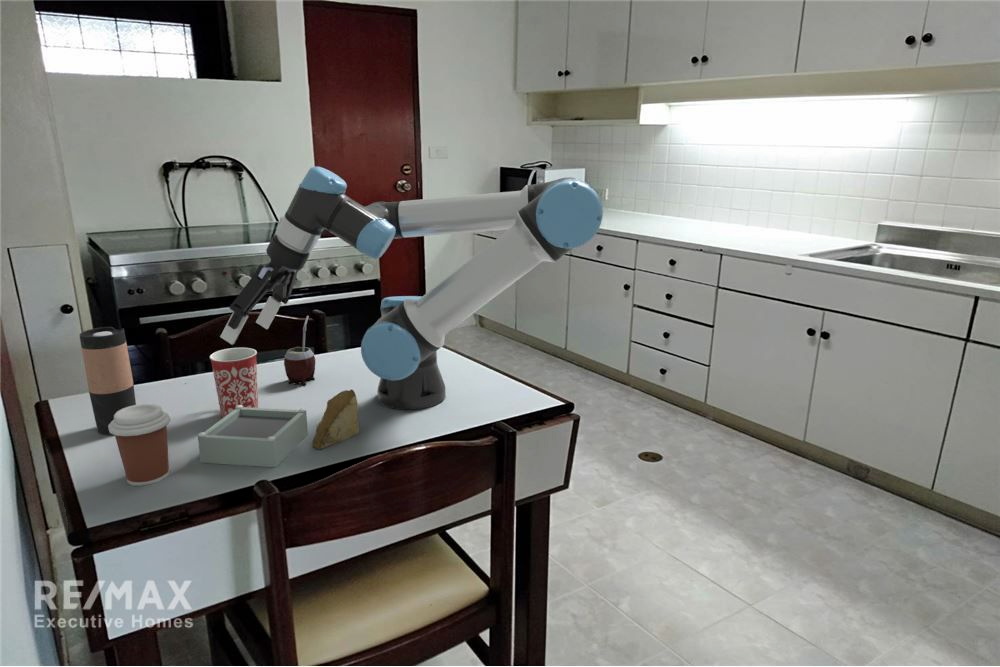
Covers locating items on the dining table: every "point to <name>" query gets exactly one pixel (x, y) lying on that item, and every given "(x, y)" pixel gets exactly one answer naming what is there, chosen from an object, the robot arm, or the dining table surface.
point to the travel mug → (107, 373)
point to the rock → (337, 420)
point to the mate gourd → (300, 363)
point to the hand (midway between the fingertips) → (245, 332)
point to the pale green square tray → (253, 436)
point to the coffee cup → (142, 442)
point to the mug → (235, 378)
